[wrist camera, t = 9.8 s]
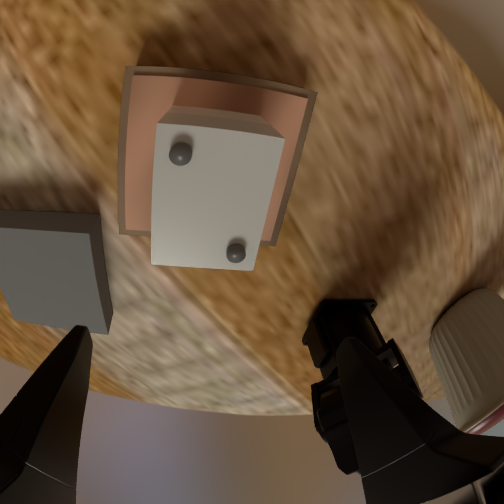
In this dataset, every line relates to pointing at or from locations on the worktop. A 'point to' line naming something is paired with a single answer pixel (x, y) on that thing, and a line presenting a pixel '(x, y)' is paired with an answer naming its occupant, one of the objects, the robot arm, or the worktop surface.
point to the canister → (472, 360)
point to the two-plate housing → (211, 187)
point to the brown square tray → (203, 96)
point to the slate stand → (55, 269)
